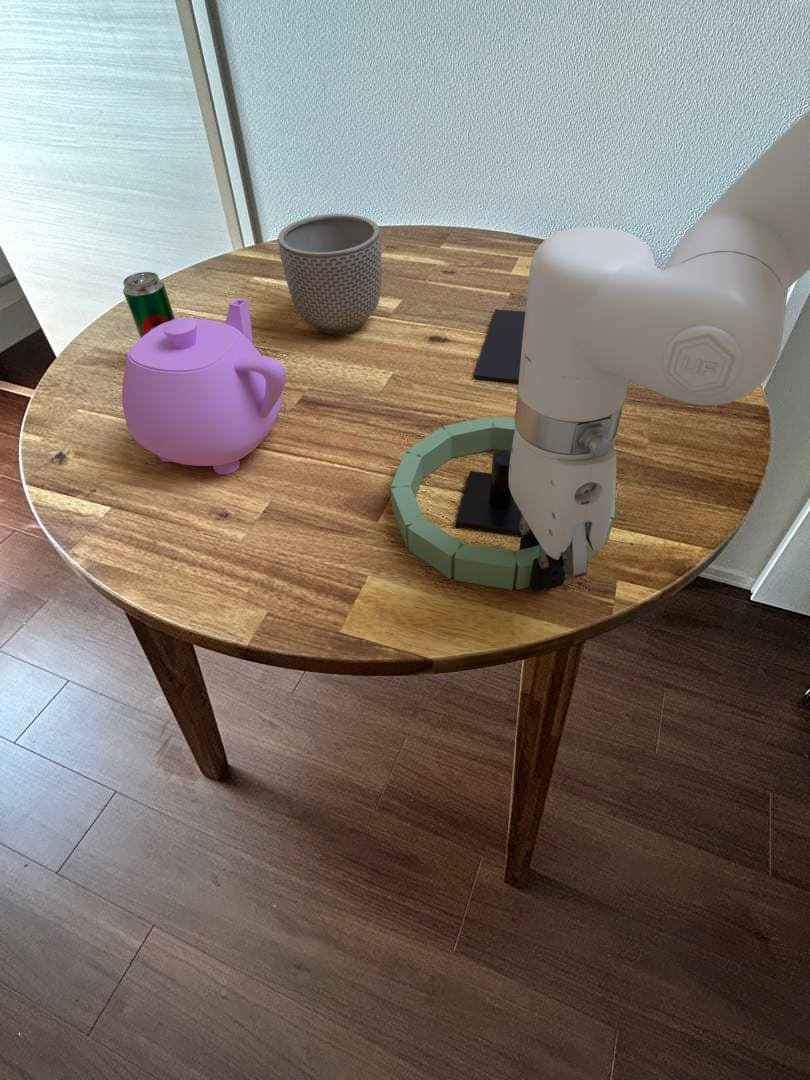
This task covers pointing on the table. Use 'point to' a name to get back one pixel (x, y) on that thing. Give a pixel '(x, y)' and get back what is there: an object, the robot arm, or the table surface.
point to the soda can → (147, 301)
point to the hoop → (436, 543)
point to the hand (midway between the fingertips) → (539, 574)
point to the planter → (333, 269)
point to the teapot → (202, 391)
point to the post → (490, 500)
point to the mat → (502, 348)
